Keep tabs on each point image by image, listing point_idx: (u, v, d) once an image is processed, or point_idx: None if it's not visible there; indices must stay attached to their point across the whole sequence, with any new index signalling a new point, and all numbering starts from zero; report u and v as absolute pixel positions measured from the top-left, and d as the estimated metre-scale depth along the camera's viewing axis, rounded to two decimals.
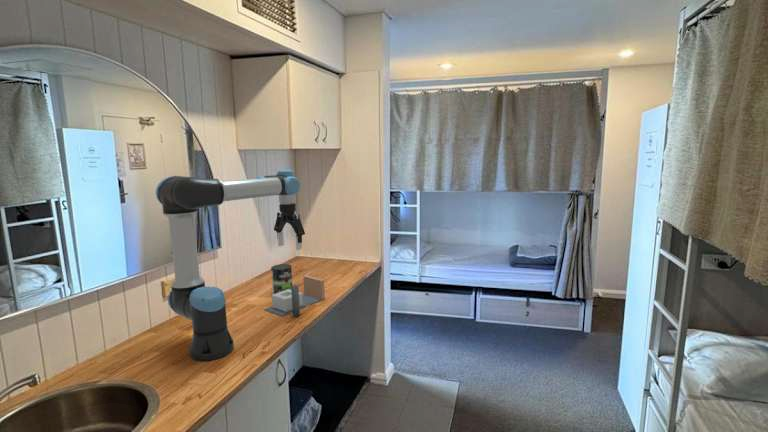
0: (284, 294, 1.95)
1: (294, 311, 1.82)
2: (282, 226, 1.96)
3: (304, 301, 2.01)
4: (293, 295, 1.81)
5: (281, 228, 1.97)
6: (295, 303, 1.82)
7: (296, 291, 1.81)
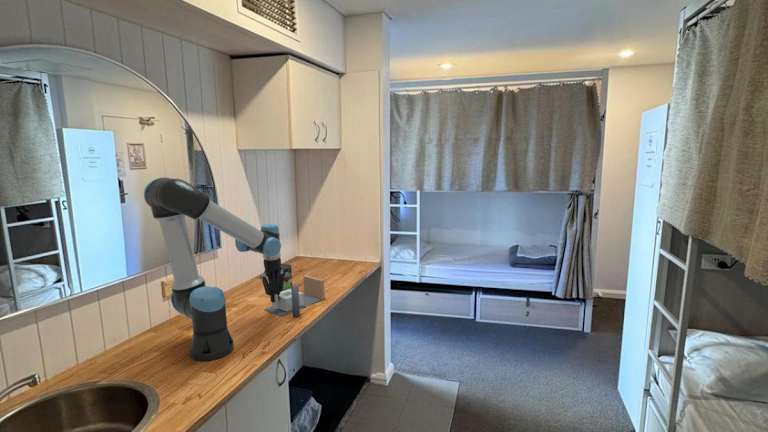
0: (285, 294, 1.95)
1: (294, 311, 1.82)
2: (275, 284, 1.87)
3: (304, 301, 2.01)
4: (293, 295, 1.81)
5: (275, 287, 1.87)
6: (295, 303, 1.82)
7: (296, 291, 1.81)
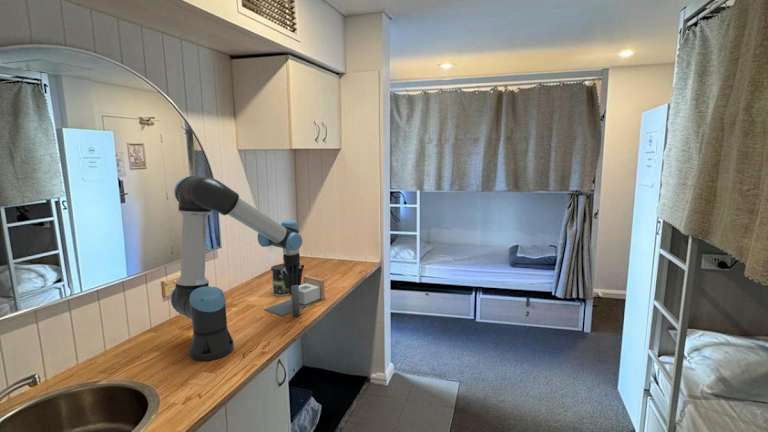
0: (302, 288, 2.03)
1: (294, 311, 1.82)
2: (293, 278, 1.95)
3: None
4: (293, 295, 1.81)
5: (294, 281, 1.96)
6: (295, 303, 1.82)
7: (296, 291, 1.81)
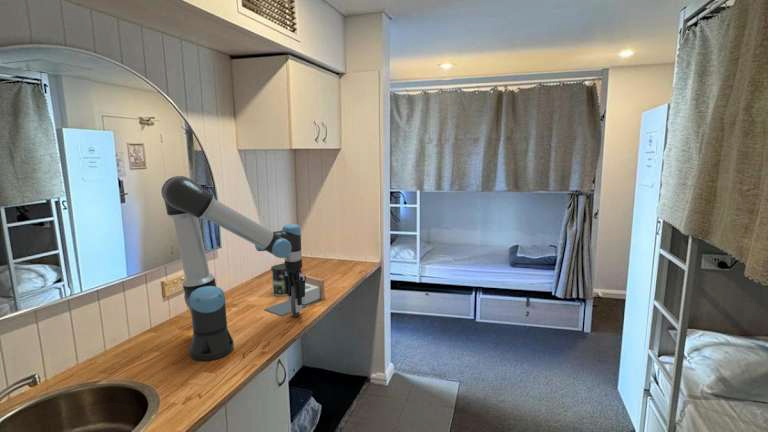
0: None
1: (294, 311, 1.82)
2: None
3: None
4: (293, 295, 1.81)
5: None
6: None
7: None
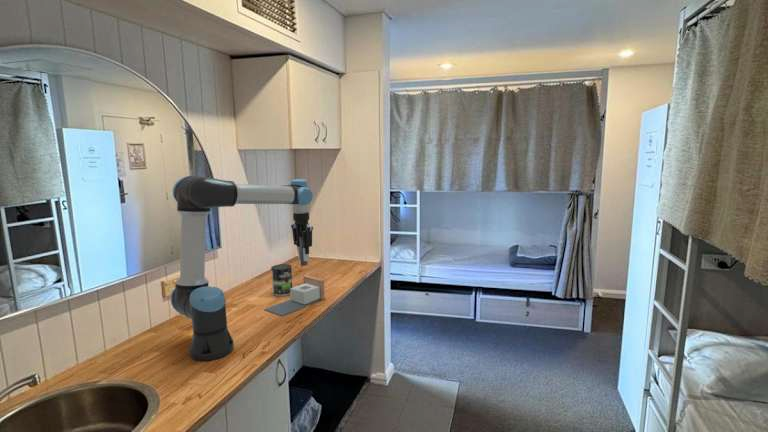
0: (302, 288, 2.03)
1: (302, 260, 1.97)
2: None
3: None
4: (301, 245, 1.96)
5: None
6: None
7: None
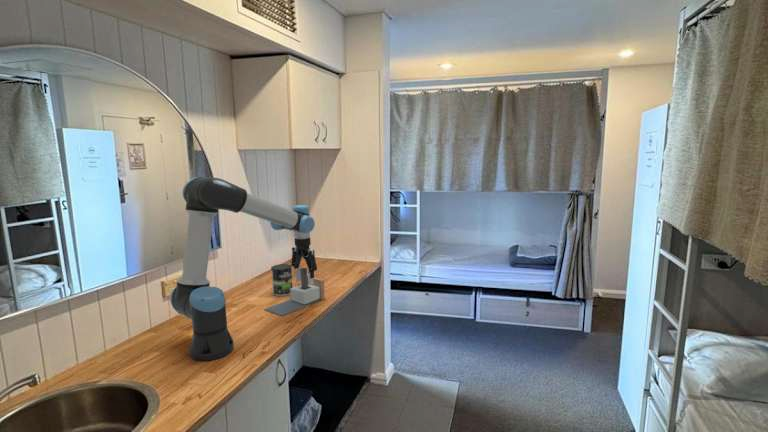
0: None
1: None
2: (299, 261, 2.01)
3: None
4: (302, 276, 1.99)
5: (298, 263, 2.02)
6: (304, 284, 2.00)
7: (305, 273, 1.99)
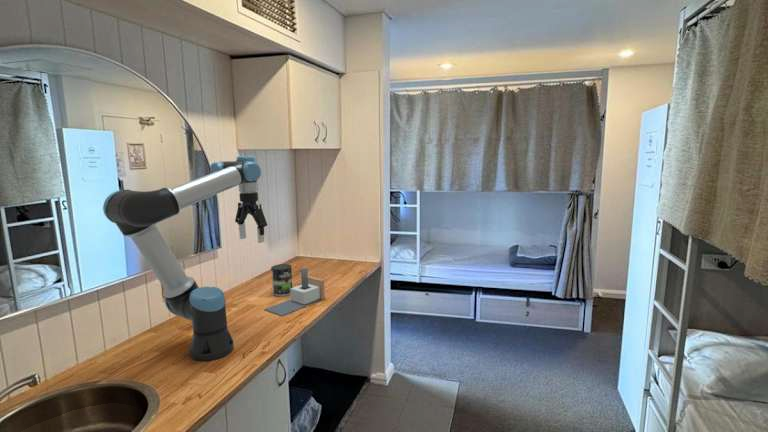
0: None
1: None
2: (244, 217, 1.81)
3: None
4: (302, 277, 1.99)
5: (243, 219, 1.82)
6: (304, 284, 2.00)
7: (305, 273, 1.99)
